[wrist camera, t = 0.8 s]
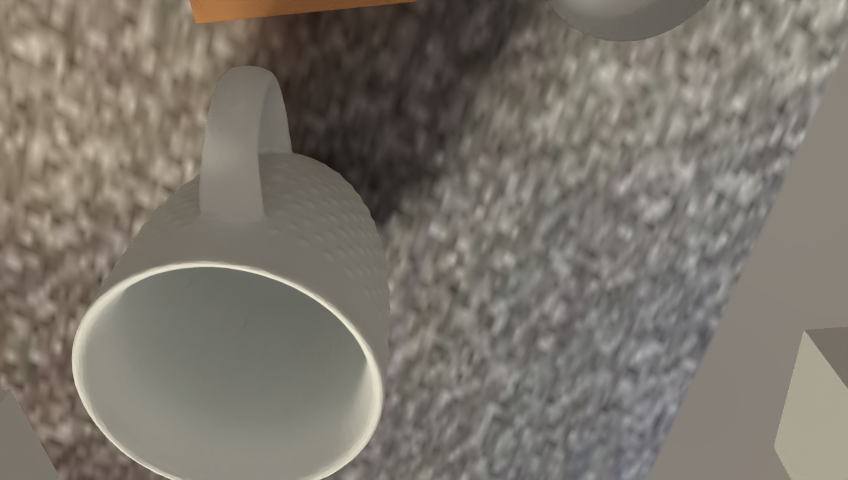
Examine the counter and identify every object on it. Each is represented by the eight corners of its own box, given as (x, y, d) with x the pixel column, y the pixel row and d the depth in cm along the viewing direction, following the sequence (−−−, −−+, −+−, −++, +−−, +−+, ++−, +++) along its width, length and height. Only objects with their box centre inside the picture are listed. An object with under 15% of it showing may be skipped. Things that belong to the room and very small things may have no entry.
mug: (148, 25, 31) (-9, 139, 19) (397, 30, 31) (385, 146, 20) (197, 299, 38) (104, 496, 27) (396, 302, 38) (387, 498, 27)
